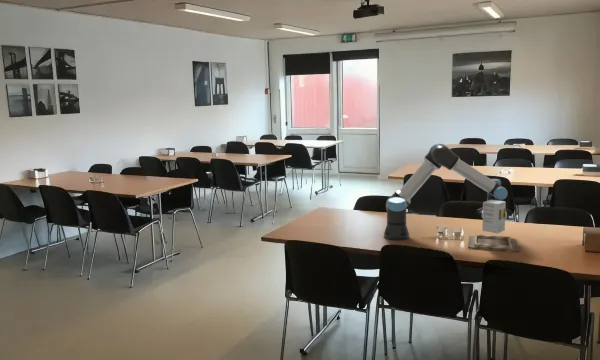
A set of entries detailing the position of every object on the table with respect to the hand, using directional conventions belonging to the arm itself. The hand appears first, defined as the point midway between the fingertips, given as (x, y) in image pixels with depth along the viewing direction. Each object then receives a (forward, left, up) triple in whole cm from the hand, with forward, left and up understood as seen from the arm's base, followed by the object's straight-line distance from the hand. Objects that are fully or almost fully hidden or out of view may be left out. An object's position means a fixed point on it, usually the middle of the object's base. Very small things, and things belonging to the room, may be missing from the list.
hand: (494, 215), depth 285 cm
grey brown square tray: (0, +4, -18) cm, 18 cm away
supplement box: (0, +1, -9) cm, 9 cm away
